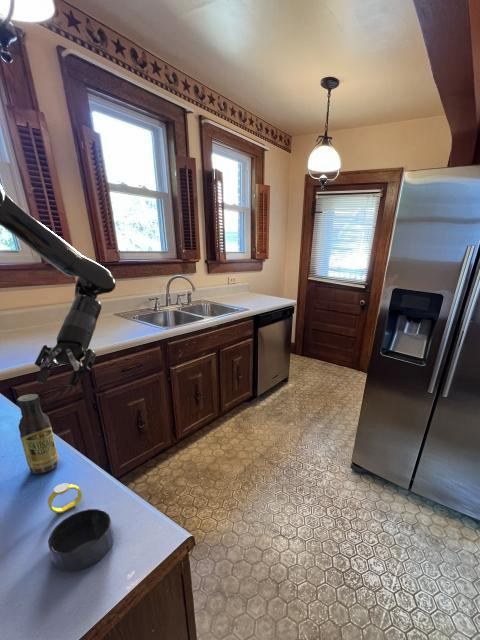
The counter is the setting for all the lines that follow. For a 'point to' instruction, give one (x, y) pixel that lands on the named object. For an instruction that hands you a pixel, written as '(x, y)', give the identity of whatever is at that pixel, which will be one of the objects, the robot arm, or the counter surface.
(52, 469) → the brown flat disc
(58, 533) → the pan
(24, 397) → the sauce bottle
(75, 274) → the robot arm
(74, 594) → the counter surface
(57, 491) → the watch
